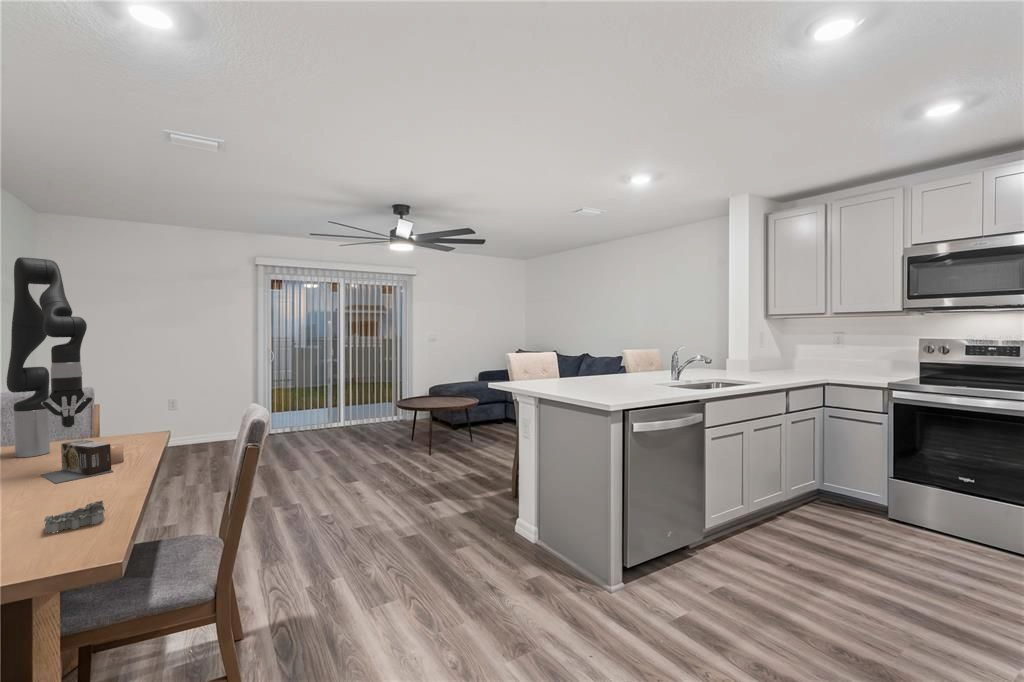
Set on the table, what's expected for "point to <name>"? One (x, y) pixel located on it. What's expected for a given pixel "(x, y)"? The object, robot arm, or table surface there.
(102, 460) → the coffee box
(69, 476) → the mat
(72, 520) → the ruined stone wall
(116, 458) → the beige short cylinder
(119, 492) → the table surface
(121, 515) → the table surface
